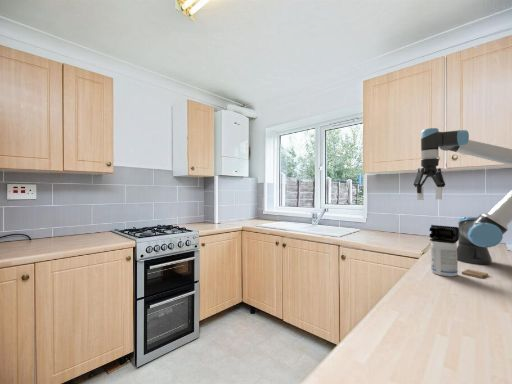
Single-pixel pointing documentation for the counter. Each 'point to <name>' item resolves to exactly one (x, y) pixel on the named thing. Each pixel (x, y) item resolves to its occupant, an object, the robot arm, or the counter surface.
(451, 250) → the supplement tub
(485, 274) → the oak coaster
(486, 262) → the robot arm
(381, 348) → the counter surface
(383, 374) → the counter surface
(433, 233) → the end cap
